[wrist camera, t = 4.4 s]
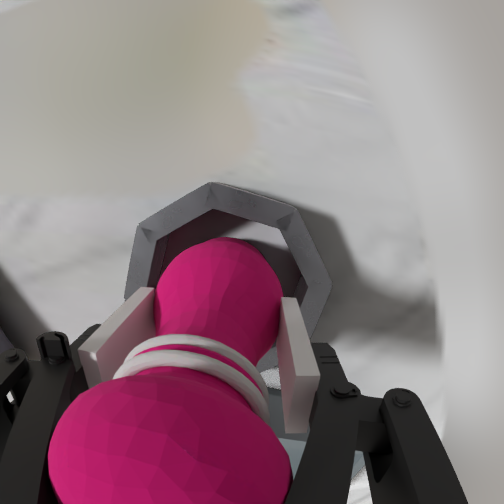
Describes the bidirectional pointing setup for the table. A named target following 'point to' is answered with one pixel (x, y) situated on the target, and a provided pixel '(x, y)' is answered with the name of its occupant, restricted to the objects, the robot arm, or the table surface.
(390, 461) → the robot arm
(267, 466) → the pepper mill
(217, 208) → the collar
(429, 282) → the table surface
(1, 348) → the bluetooth speaker
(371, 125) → the table surface
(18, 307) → the table surface
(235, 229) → the table surface
